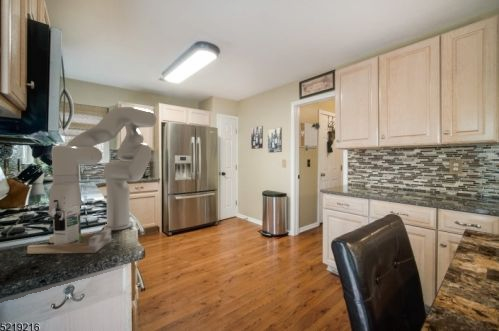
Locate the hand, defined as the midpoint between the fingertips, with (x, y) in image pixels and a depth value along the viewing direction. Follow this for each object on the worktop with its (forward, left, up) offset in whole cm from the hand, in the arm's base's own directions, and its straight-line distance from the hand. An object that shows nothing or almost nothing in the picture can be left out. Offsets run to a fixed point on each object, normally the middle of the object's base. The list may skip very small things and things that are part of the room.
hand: (67, 226), depth 84 cm
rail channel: (0, +1, -8) cm, 8 cm away
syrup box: (0, 0, -7) cm, 7 cm away
